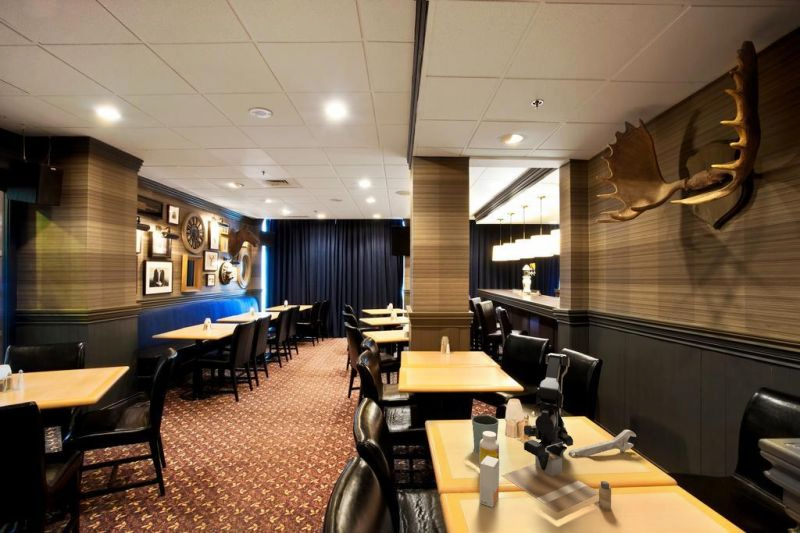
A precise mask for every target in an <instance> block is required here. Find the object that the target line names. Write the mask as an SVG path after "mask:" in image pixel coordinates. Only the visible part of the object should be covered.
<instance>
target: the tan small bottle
mask: <svg viewBox="0 0 800 533" xmlns="http://www.w3.org/2000/svg"><path fill="white" fill-rule="evenodd" d="M598 492H599V494H598V507H599V509H601V510H603V511H605V512H610V511H611V510H612V487H611V486H610V483H609V482H608V481H605V480H602V481H600V484H599V485H598Z"/></svg>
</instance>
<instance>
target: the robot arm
mask: <svg viewBox="0 0 800 533" xmlns="http://www.w3.org/2000/svg"><path fill="white" fill-rule="evenodd" d="M570 363H571V362H570V357H569V356H567V354H565V353H564V354H562V353H554V352H550V353H547V354H545V364H546V365H547V368H546V372H545V373H546V374H545V377H544V379H543V380H541V381H540V384H539V387H537V390H536V399H535V406H534V407H535V408H536V409H539V412H538V415H537V417H536V419H535V425H534V424H533V425H530V424H529V425H528V424H526V425H523V434H524V435H525V436H527V437H528V438H531V437H534V438H535V439H536V440H535V439H530V440H527V441H525V442H524V443H523V450H524V451H526V452H528V453H530V454H531V455H534V456H537V457H538V460H539V463H540V466H541V469H542V470H545V469H546V466H547V462H548V458H549V455H550V454H549V453H547V452H546V450H547V451H549V452H551V453H553V454H555V455H557V456H559V457H561V458H562V456H563V454H564V453H565V451H566V450H567V449H568V447H570V446H573V445H574V439H573V437H572V436H571V435H570V434H569V433H568V431H567V427H565V422H564V420H563V418H562V416H561V410H562V409H563V401H564V395H563V381H564V380H563V378H564V377H565V375H566V374H567V373H568V368H569V367H570ZM537 440H538V441H537Z"/></svg>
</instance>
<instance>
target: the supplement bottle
mask: <svg viewBox="0 0 800 533" xmlns="http://www.w3.org/2000/svg"><path fill="white" fill-rule="evenodd" d="M486 456H490V457H493V458H497V459H499V460H500V443H499V441H498V440H497V441H496V433H494V432H491V431H484V432H483V439H482V440H481V441H480V452H479V462H478V464H479V467H478V468H479V469H480V463H481V462H482V461H483V459H484V458H485V457H486Z"/></svg>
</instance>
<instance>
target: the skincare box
mask: <svg viewBox="0 0 800 533" xmlns="http://www.w3.org/2000/svg"><path fill="white" fill-rule="evenodd" d="M499 482H500V458H499V459H497V458H493V457H490V456H486V457H485V458H484V459H483V461H482V462H481V463H480V468H479V504H481V505H484V506H487V507H489V508H494V505H495V504H496V503H497V500H498V499H499V493H500V492H499V490H500V489H499V486H500V484H499Z"/></svg>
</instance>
